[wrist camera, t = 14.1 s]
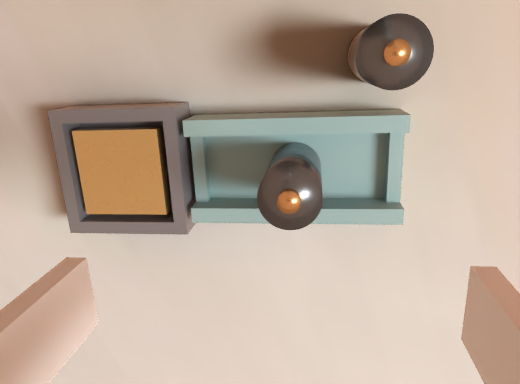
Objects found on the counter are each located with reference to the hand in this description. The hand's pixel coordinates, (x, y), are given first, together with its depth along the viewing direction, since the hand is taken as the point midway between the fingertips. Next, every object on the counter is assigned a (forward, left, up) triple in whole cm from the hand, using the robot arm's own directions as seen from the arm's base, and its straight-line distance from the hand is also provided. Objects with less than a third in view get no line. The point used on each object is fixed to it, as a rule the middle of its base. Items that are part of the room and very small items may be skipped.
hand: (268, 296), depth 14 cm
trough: (0, 0, -20) cm, 20 cm away
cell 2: (-8, +6, -20) cm, 23 cm away
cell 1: (0, 0, -19) cm, 19 cm away
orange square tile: (0, -13, -18) cm, 23 cm away
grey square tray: (0, -13, -20) cm, 24 cm away
